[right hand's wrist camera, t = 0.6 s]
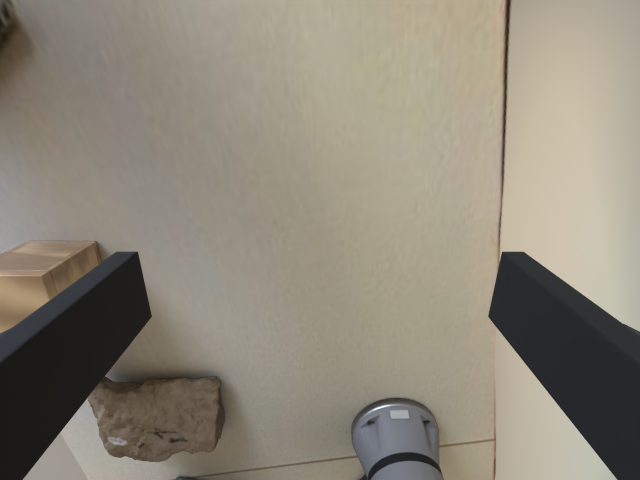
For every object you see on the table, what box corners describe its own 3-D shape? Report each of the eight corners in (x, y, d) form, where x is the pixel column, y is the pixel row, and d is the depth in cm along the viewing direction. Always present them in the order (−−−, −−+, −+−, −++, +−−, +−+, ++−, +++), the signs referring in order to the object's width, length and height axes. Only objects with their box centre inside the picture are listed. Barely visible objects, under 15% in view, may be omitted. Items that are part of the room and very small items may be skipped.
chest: (116, 317, 53) (78, 357, 45) (55, 316, 53) (5, 356, 45) (96, 241, 48) (50, 270, 40) (29, 240, 48) (-32, 269, 40)
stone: (100, 449, 59) (83, 478, 53) (93, 370, 57) (74, 391, 51) (226, 436, 63) (222, 462, 57) (224, 361, 61) (220, 380, 55)
